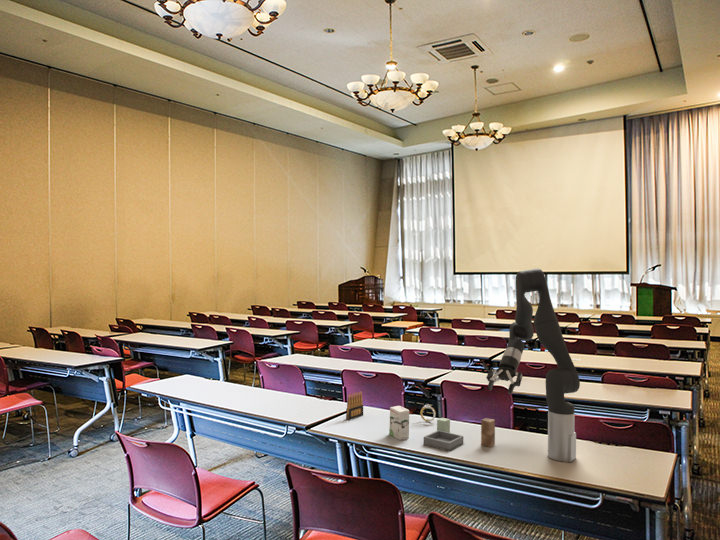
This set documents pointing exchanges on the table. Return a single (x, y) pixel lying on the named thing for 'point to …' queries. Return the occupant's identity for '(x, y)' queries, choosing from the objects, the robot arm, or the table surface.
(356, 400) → the ammunition clip
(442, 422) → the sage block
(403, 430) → the ink box
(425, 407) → the ring
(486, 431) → the walnut block
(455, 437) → the desk tray
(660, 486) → the table surface
